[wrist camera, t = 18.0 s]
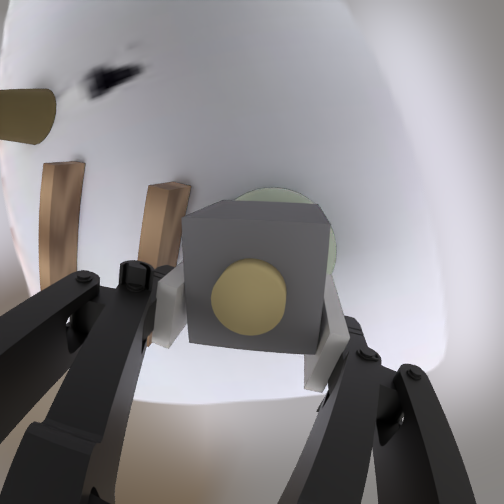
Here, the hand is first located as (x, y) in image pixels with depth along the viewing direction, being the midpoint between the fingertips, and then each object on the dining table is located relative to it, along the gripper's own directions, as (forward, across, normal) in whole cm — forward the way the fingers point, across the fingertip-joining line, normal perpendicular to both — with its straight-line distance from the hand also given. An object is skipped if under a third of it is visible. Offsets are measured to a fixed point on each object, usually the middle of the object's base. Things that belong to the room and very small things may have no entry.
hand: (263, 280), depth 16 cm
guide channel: (+6, -13, -3) cm, 14 cm away
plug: (0, 0, +2) cm, 2 cm away
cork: (+6, -26, +7) cm, 28 cm away
